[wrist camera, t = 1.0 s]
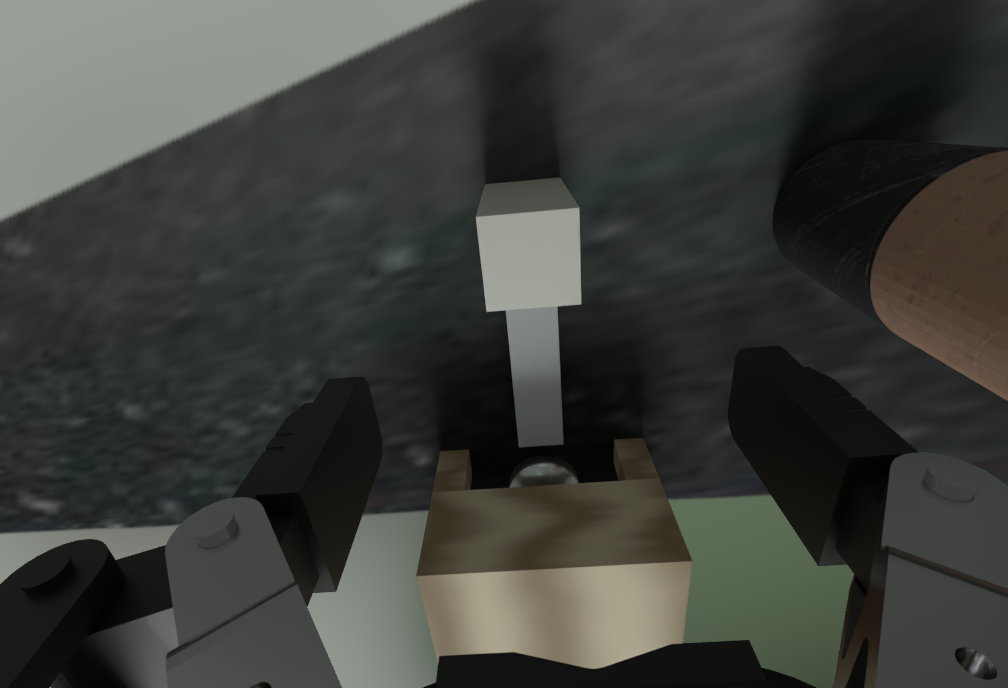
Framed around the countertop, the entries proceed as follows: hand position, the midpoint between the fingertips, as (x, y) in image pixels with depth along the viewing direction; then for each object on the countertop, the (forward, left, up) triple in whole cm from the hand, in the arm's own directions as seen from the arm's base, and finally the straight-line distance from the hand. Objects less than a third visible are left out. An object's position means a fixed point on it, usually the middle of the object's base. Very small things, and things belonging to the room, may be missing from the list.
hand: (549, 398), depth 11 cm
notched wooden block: (0, +20, -18) cm, 27 cm away
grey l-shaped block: (0, +6, -18) cm, 19 cm away
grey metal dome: (0, +19, -18) cm, 26 cm away
